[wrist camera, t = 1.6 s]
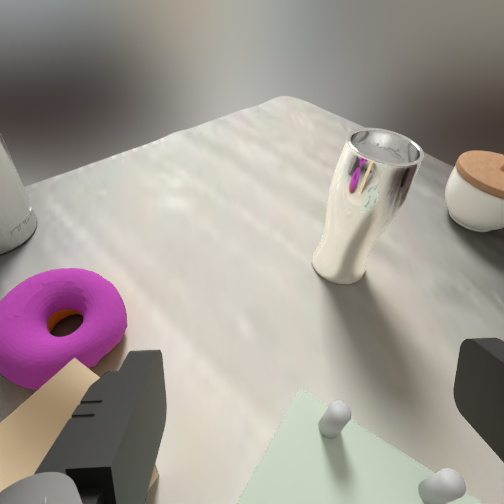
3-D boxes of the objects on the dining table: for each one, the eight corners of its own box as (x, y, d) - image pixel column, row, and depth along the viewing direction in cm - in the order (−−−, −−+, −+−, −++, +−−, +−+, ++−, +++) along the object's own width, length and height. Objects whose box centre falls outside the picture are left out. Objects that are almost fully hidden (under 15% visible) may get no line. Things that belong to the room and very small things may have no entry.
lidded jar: (509, 211, 52) (553, 155, 45) (512, 255, 45) (566, 194, 38) (435, 188, 55) (467, 131, 48) (428, 225, 48) (464, 164, 41)
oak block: (71, 597, 19) (-30, 591, 11) (25, 546, 21) (-96, 506, 12) (159, 475, 24) (135, 405, 15) (117, 440, 25) (74, 357, 17)
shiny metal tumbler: (360, 246, 43) (411, 130, 32) (374, 290, 38) (440, 170, 28) (304, 242, 42) (338, 123, 32) (311, 286, 37) (354, 162, 27)
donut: (30, 421, 26) (5, 395, 22) (-19, 331, 30) (-45, 299, 27) (150, 340, 31) (145, 309, 28) (94, 274, 36) (83, 242, 33)
